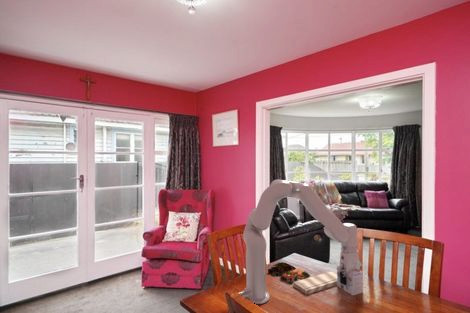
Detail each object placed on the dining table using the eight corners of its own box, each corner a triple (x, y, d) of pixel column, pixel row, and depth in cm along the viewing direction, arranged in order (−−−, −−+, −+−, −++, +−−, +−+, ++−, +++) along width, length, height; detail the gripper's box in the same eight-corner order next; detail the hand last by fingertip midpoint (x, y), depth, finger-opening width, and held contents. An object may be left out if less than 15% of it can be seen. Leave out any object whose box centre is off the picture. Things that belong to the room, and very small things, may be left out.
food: (262, 272, 152) (262, 266, 153) (283, 265, 164) (283, 259, 164) (292, 286, 135) (292, 279, 136) (313, 276, 147) (313, 270, 147)
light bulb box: (336, 286, 134) (336, 265, 135) (346, 283, 137) (346, 263, 137) (353, 295, 124) (352, 273, 125) (363, 293, 127) (362, 271, 127)
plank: (306, 294, 126) (306, 290, 126) (293, 285, 135) (293, 281, 135) (346, 281, 139) (346, 277, 139) (331, 274, 148) (331, 271, 148)
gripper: (343, 253, 124) (344, 289, 123) (367, 247, 131) (367, 281, 131) (331, 248, 130) (331, 282, 130) (354, 243, 138) (355, 275, 138)
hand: (349, 281), depth 131 cm, fingers open, 9 cm apart
